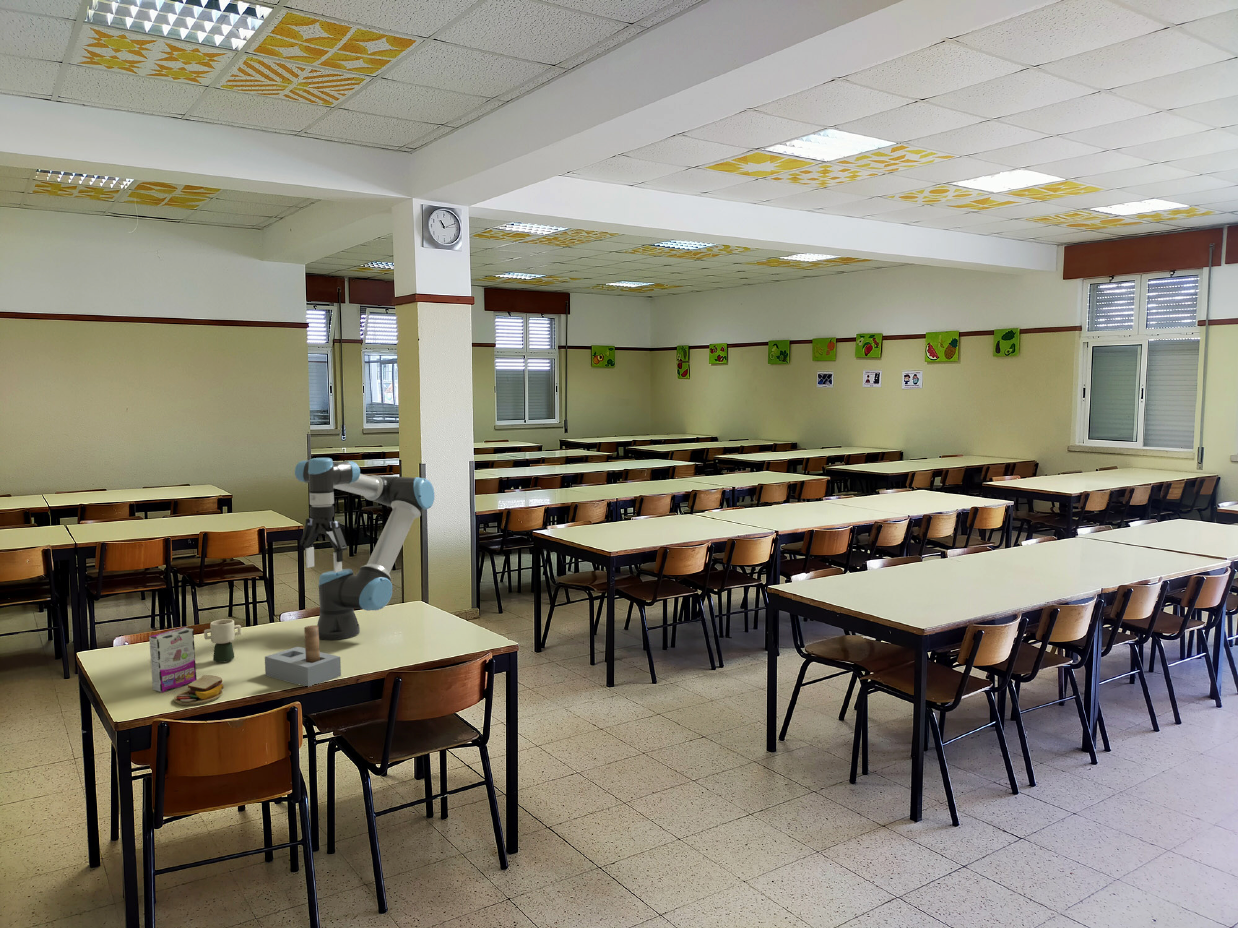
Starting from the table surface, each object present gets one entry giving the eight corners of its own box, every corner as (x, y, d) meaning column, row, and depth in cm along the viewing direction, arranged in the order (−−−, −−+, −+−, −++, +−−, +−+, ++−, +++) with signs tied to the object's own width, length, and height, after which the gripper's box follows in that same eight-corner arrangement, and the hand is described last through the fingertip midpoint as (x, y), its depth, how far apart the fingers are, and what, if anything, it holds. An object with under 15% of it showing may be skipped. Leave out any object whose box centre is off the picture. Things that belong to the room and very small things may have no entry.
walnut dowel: (303, 672, 260) (301, 627, 258) (314, 669, 263) (312, 624, 262) (312, 675, 257) (310, 629, 256) (323, 671, 261) (321, 626, 259)
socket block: (265, 675, 263) (264, 656, 263) (298, 664, 273) (297, 646, 273) (308, 687, 253) (307, 667, 252) (340, 675, 263) (340, 656, 262)
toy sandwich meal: (164, 701, 242) (163, 685, 241) (207, 687, 254) (207, 671, 253) (192, 709, 236) (191, 693, 235) (235, 694, 248) (234, 678, 247)
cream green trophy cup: (240, 655, 283) (238, 616, 282) (243, 661, 277) (242, 621, 276) (204, 660, 278) (202, 621, 276) (206, 666, 272) (205, 626, 270)
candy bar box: (187, 679, 260) (185, 626, 259) (197, 682, 258) (194, 628, 256) (151, 690, 251) (148, 635, 249) (160, 693, 248) (158, 637, 247)
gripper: (287, 504, 283) (289, 567, 285) (338, 509, 270) (340, 575, 272) (306, 501, 289) (308, 563, 291) (357, 506, 276) (359, 571, 278)
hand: (324, 569), depth 282 cm, fingers open, 13 cm apart
